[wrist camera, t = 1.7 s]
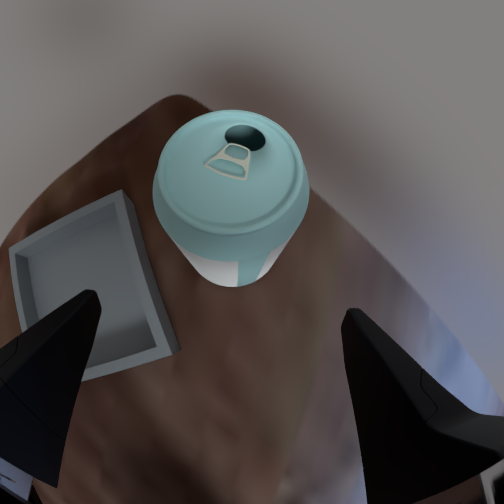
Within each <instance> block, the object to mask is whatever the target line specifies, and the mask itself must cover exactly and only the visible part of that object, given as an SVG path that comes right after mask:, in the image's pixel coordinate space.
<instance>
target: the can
mask: <svg viewBox="0 0 504 504" xmlns="http://www.w3.org/2000/svg"><path fill="white" fill-rule="evenodd" d="M308 201H309V181H308V175H307V172H306V168H305V166H304V163H303V161H302V157H301V154H300V151H299V149H298V147H297V145H296V143H295V142H294V140H293V139H292V137H291V136H290V135H289V134H288V133H287V132H286V131H285V130H284V129H283V128H282V127H281V126H280V125H278V124H277V123H275V122H274V121H272V120H270V119H269V118H267V117H264V116H262V115H259V114H256V113H253V112H249V111H243V110H220V111H215V112H210V113H207V114H204V115H201V116H199V117H196V118H194V119H193V120H191V121H189V122H187V123H186V124H184V125H183V126H182V127H181V128H179V129H178V130H177V131H176V132H175V133H174V134H173V135H172V137H171V138H170V139H169V140H168V142H167V143H166V145H165V147H164V148H163V151H162V153H161V156H160V159H159V163H158V167H157V170H156V173H155V177H154V182H153V203H154V208H155V212H156V214H157V217H158V219H159V221H160V223H161V225H162V227H163V228H164V230H165V231H166V232H167V234H168V235H169V236H170V238H171V239H172V240H173V241H174V243H175V244H176V245H177V247H178V248H179V249H180V250H181V252H182V253H183V254H184V255H185V257H186V258H187V259H188V260H189V262H190V263H191V264H192V265H193V266H194V268H195V269H196V270H197V271H198V272H199V273H200V274H201V275H202V276H203V277H204V278H206V279H207V280H209V281H211V282H213V283H215V284H218V285H221V286H227V287H238V286H244V285H247V284H250V283H252V282H254V281H256V280H258V279H259V278H261V277H262V276H263V275H264V274H266V273H267V271H268V270H269V269H270V268H271V266H272V265H273V263H274V262H275V260H276V259H277V258H278V256H279V255H280V253H281V252H282V250H283V249H284V247H285V246H286V244H287V243H288V241H289V240H290V238H291V237H292V235H293V234H294V232H295V231H296V229H297V228H298V226H299V225H300V223H301V221H302V219H303V217H304V215H305V212H306V209H307V206H308Z"/></svg>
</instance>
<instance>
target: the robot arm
mask: <svg viewBox="0 0 504 504" xmlns="http://www.w3.org/2000/svg"><path fill="white" fill-rule="evenodd" d="M101 313H102V307H101V304H100V301H99V298H98V294H97V292H96V291H95V290H91V289H85V290H83V291H82V292H80V293H79V294H77V295H76V296H74V297H73V298H71V299H70V300H68V301H67V302H65V303H64V304H62V305H61V306H59V307H58V308H57V309H55V310H54V311H52V312H51V313H49V314H48V315H46V316H45V317H44V318H42V319H41V320H39V321H38V322H36V323H35V324H34V325H32V326H31V327H29V328H28V329H27V330H25V331H24V332H23V333H21V334H20V335H19V336H17V337H16V338H14V339H13V340H12V341H10V342H9V343H8V344H6V345H5V346H3V347H2V348H0V504H42V502H41V500H40V498H39V496H38V494H37V492H36V490H35V488H34V486H33V485H32V483H33V479H34V477H35V478H36V479H38V480H40V481H42V482H44V483H46V484H49V485H51V486H53V487H55V488H57V485H58V479H59V472H60V467H61V461H62V456H63V451H64V446H65V441H66V436H67V432H68V428H69V424H70V420H71V416H72V412H73V408H74V405H75V401H76V398H77V394H78V391H79V387H80V384H81V381H82V378H83V374H84V371H85V368H86V365H87V362H88V359H89V356H90V354H91V351H92V347H93V344H94V340H95V336H96V332H97V328H98V324H99V320H100V317H101ZM341 335H342V343H343V353H344V363H345V369H346V374H347V379H348V384H349V389H350V394H351V399H352V404H353V409H354V415H355V420H356V426H357V432H358V438H359V444H360V450H361V457H362V463H363V467H364V468H363V472H364V479H365V487H366V495H367V504H504V417H503V416H492V415H484V414H479V413H476V412H474V411H472V410H471V409H469V408H468V407H467V406H466V405H464V404H463V403H462V402H461V401H459V400H458V399H457V398H456V397H455V396H453V395H452V394H451V393H450V392H449V391H447V390H446V389H445V388H444V387H443V386H442V385H440V384H439V383H438V382H437V381H436V380H435V379H434V378H433V377H432V376H431V375H429V374H428V373H427V372H426V371H425V370H424V369H423V368H422V367H421V366H420V365H419V364H418V363H417V362H416V361H415V360H414V359H413V358H412V357H411V356H410V355H409V354H408V353H407V352H406V351H405V350H404V349H402V348H401V347H400V346H399V345H398V344H397V343H396V342H395V341H394V340H393V339H392V338H391V337H390V336H389V335H388V334H387V333H386V332H385V331H383V330H382V329H381V328H380V327H379V326H378V325H377V324H376V323H375V322H374V321H373V320H372V319H371V318H369V317H368V316H367V315H366V314H365V313H364V312H363V311H362V310H361V309H359V308H349V309H348V310H347V312H346V315H345V317H344V320H343V322H342V325H341Z"/></svg>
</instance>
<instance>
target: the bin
mask: <svg viewBox="0 0 504 504" xmlns="http://www.w3.org/2000/svg"><path fill="white" fill-rule="evenodd" d="M9 257H10V267H11V275H12V283H13V289H14V296H15V301H16V307H17V312H18V316H19V321H20V325H21V330H22V333H23V332H24V331H25V330H27V329H28V328H29V327H31V326H32V325H34V324H35V323H36V322H38V321H39V320H41V319H42V318H44V317H45V316H46V315H48V314H49V313H51V312H52V311H54V310H55V309H57V308H58V307H59V306H61V305H62V304H64V303H65V302H67V301H68V300H70V299H71V298H73V297H74V296H76V295H77V294H79V293H80V292H82V291H83V290H85V289H91V290H95V291H96V292H97V294H98V298H99V301H100V304H101V307H102V313H101V317H100V320H99V324H98V328H97V332H96V336H95V340H94V344H93V347H92V351H91V354H90V356H89V359H88V362H87V365H86V368H85V371H84V374H83V378H82V381H86V380H89V379H93V378H97V377H100V376H104V375H108V374H111V373H115V372H118V371H121V370H125V369H128V368H131V367H135V366H138V365H141V364H144V363H148V362H151V361H154V360H157V359H160V358H163V357H166V356H169V355H172V354H174V353H176V352H178V351H179V350H181V349H180V346H179V344H178V341H177V339H176V336H175V333H174V331H173V328H172V326H171V323H170V320H169V317H168V315H167V312H166V309H165V306H164V304H163V301H162V298H161V295H160V292H159V289H158V286H157V283H156V280H155V277H154V274H153V271H152V267H151V264H150V261H149V258H148V254H147V251H146V247H145V244H144V241H143V237H142V233H141V230H140V226H139V222H138V219H137V215H136V211H135V207H134V204H133V202H132V201H131V200H130V199H129V198H128V196H127V195H126V194H125V193H124V191H123V190H122V189H121V190H118V191H116V192H114V193H112V194H110V195H107V196H105V197H103V198H101V199H99V200H97V201H94V202H92V203H90V204H88V205H86V206H84V207H82V208H80V209H78V210H76V211H74V212H72V213H70V214H68V215H66V216H64V217H62V218H61V219H59V220H57V221H55V222H53V223H51V224H49V225H48V226H46V227H44V228H42V229H40V230H39V231H37V232H35V233H33V234H32V235H30V236H28V237H26V238H25V239H23V240H21V241H20V242H18V243H16V244H15V245H13V246H12V247H10V248H9ZM82 381H81V382H82Z"/></svg>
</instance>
